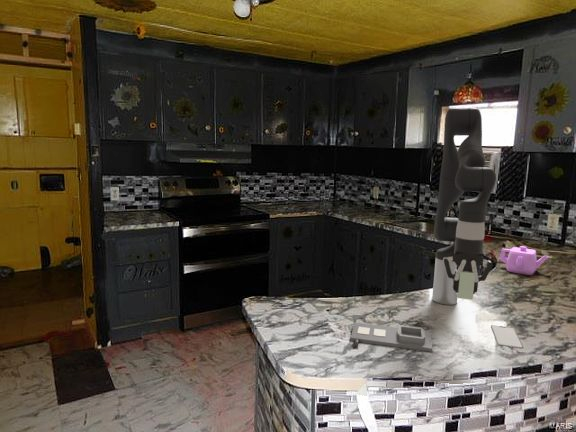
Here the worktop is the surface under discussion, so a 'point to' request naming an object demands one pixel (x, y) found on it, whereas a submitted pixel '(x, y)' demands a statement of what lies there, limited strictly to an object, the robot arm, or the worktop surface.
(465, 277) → the block
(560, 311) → the worktop surface
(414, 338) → the power strip
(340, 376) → the worktop surface
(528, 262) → the teakettle
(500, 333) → the smartphone
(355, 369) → the worktop surface
